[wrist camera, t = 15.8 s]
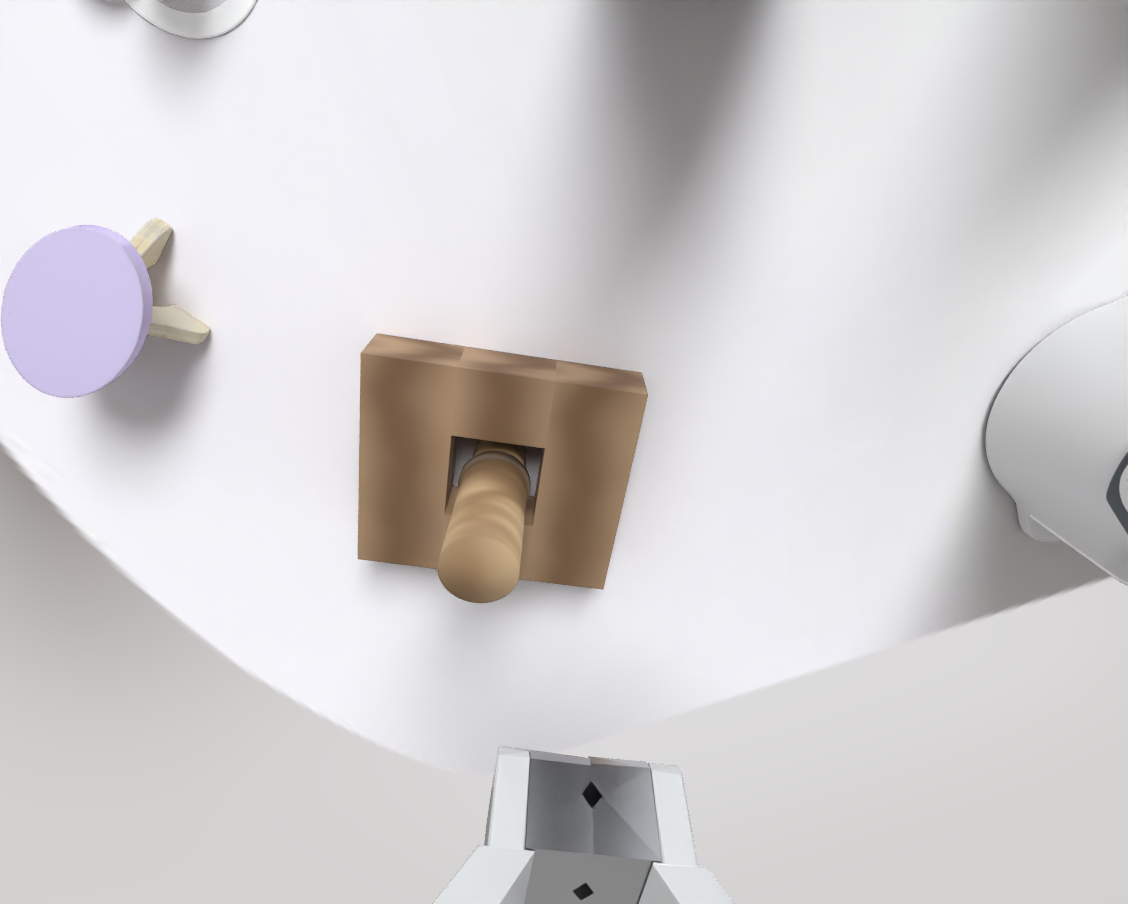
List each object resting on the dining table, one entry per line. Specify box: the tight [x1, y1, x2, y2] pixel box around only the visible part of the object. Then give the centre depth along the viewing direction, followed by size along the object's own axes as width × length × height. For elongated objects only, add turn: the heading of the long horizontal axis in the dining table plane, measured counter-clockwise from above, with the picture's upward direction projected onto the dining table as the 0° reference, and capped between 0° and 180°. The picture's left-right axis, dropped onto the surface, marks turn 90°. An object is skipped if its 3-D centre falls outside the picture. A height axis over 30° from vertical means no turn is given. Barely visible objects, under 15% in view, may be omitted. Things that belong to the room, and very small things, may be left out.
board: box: [358, 334, 648, 589], centre depth 41 cm, size 16×14×4 cm
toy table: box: [1, 218, 210, 398], centre depth 36 cm, size 10×9×6 cm
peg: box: [438, 440, 530, 603], centre depth 38 cm, size 4×4×12 cm
